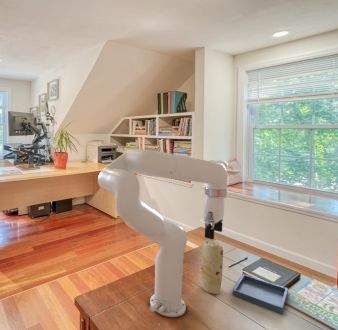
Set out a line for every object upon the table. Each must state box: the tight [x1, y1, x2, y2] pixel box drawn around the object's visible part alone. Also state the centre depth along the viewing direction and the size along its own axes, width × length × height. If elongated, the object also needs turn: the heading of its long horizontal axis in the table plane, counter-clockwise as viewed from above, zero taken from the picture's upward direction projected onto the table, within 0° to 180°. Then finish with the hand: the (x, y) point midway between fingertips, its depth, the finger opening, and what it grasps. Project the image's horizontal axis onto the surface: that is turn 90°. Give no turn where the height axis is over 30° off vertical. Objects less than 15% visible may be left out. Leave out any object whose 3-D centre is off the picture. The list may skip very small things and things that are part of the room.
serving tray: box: [232, 273, 289, 315], centre depth 100 cm, size 16×16×2 cm
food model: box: [200, 239, 224, 295], centre depth 102 cm, size 10×7×20 cm
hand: (213, 234), depth 100 cm, fingers open, 9 cm apart
